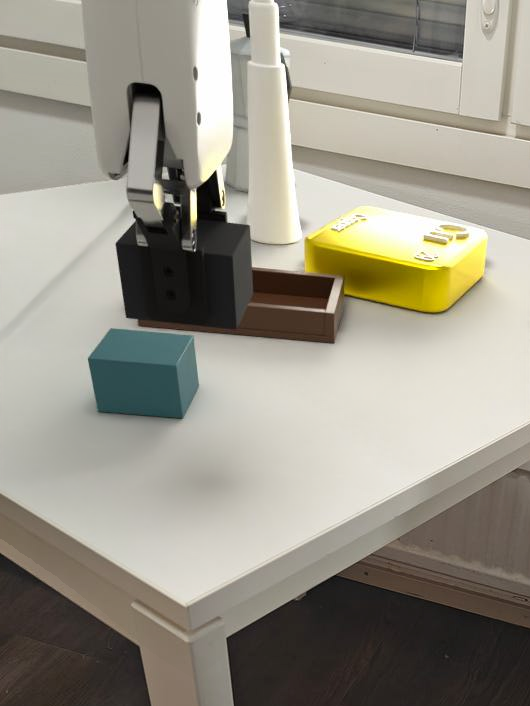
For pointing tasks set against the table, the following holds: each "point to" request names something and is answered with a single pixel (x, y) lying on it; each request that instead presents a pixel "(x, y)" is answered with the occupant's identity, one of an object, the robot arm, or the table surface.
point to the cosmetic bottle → (269, 134)
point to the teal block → (144, 373)
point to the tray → (285, 307)
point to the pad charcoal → (221, 272)
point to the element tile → (398, 258)
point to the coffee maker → (244, 108)
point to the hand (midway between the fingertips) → (191, 296)
